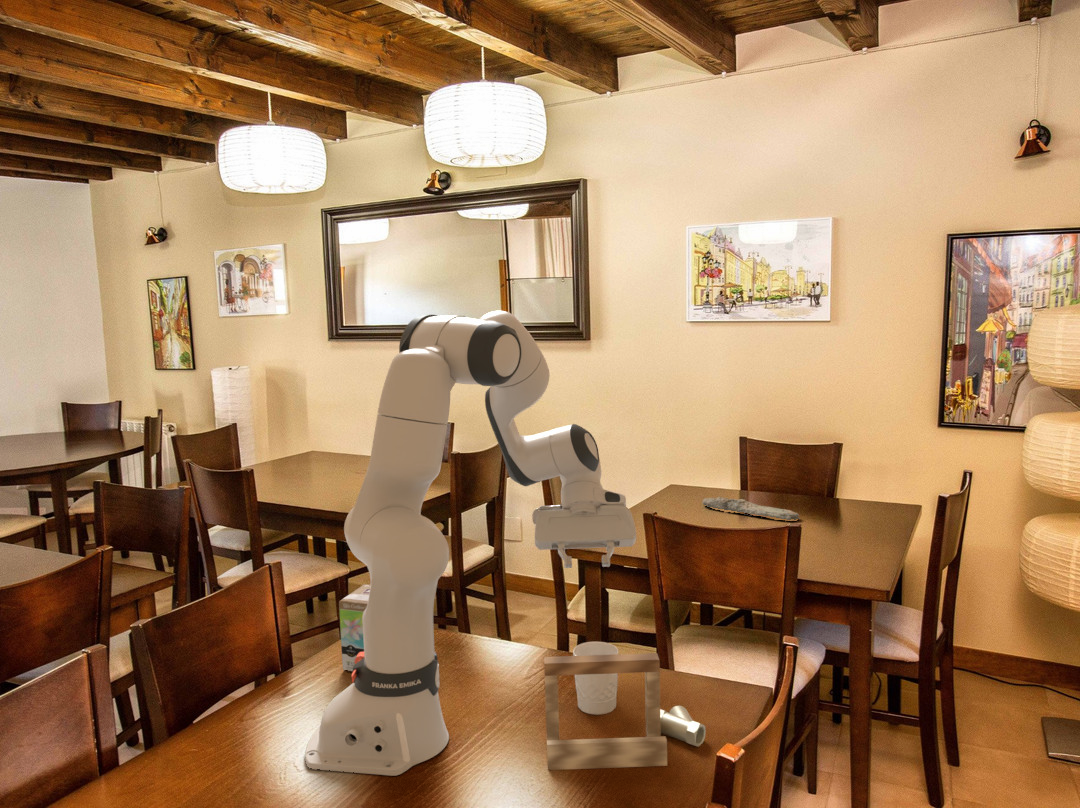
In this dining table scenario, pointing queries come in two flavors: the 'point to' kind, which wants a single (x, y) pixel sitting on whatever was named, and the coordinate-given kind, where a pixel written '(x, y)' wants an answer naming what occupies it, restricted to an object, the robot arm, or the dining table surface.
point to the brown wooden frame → (607, 749)
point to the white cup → (596, 681)
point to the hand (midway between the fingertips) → (587, 566)
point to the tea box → (352, 625)
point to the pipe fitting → (682, 726)
